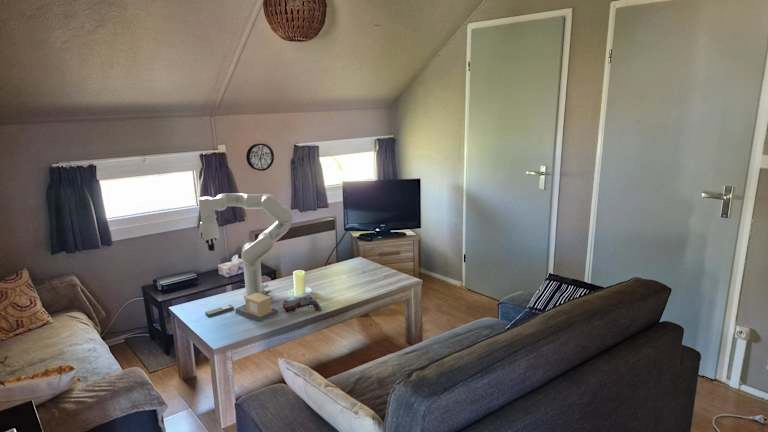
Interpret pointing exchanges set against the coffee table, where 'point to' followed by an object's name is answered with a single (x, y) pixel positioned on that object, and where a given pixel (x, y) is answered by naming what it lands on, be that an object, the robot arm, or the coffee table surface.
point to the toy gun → (301, 304)
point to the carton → (258, 304)
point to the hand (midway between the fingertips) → (211, 250)
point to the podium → (243, 312)
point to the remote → (219, 310)
